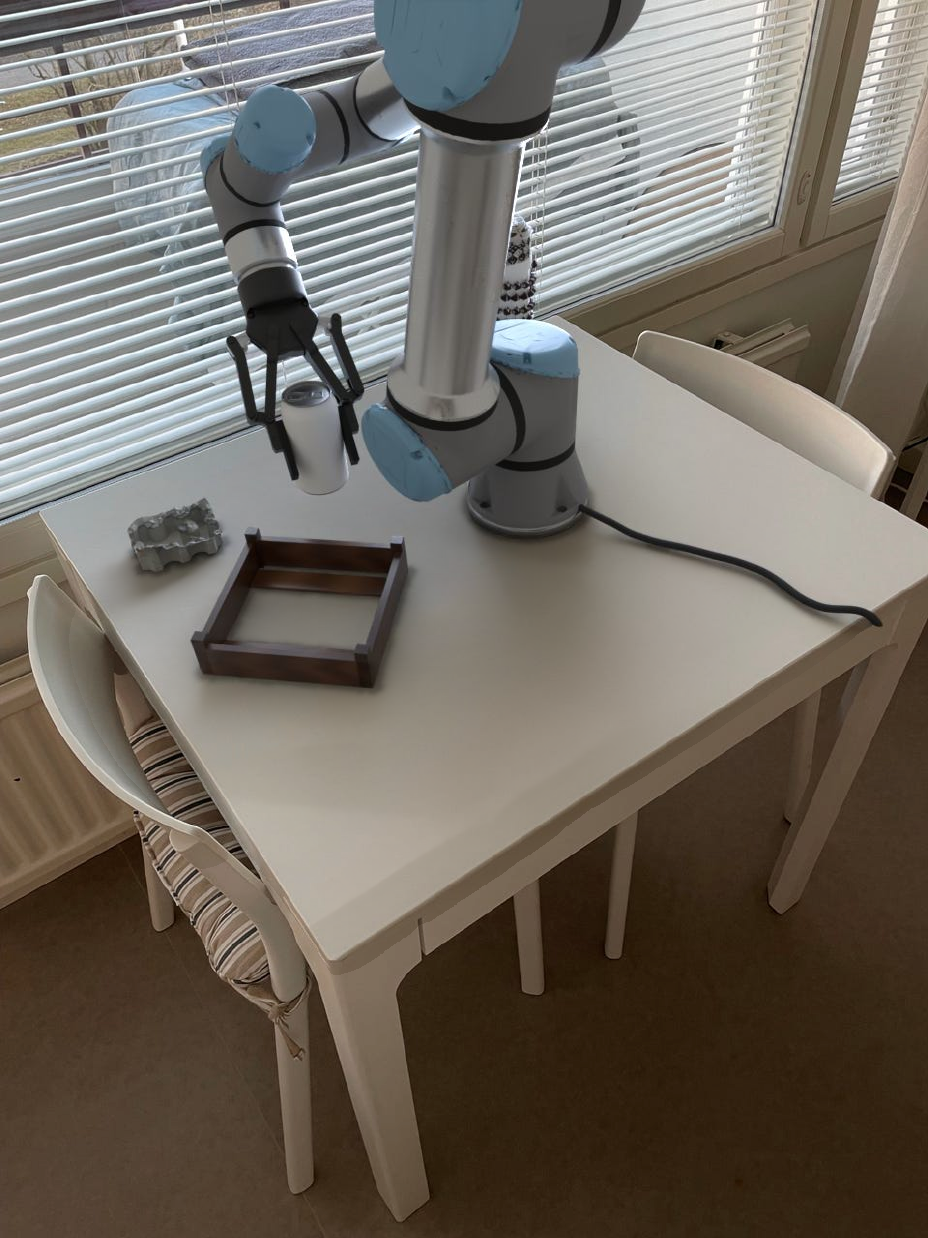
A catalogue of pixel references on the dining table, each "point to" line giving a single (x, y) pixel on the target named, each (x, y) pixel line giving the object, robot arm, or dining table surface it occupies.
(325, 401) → the can
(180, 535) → the egg carton
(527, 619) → the dining table surface
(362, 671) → the crate
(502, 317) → the white patterned cylinder
